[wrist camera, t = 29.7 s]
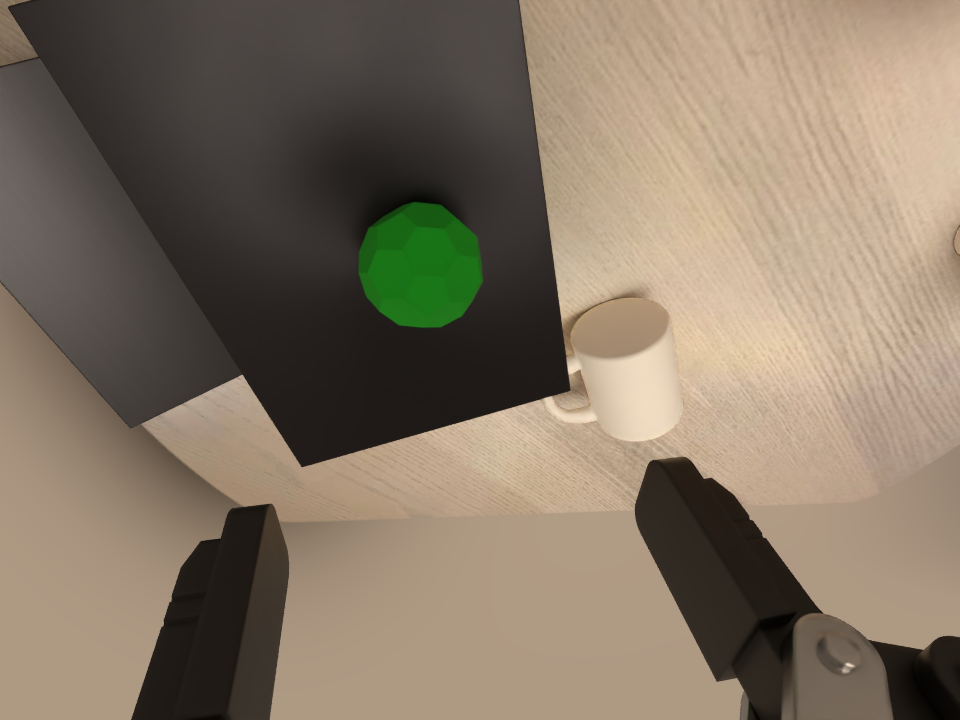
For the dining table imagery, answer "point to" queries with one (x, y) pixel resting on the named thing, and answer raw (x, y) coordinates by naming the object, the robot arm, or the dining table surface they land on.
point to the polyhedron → (420, 265)
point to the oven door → (94, 260)
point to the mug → (625, 370)
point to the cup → (957, 241)
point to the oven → (327, 191)
